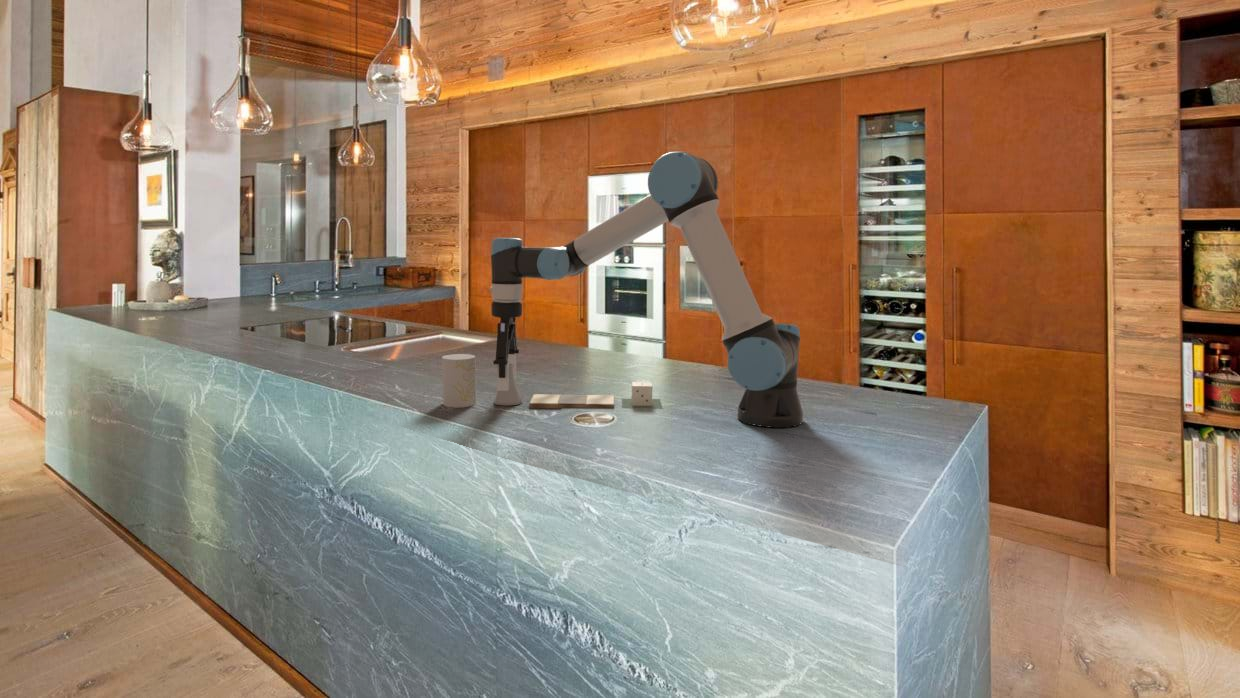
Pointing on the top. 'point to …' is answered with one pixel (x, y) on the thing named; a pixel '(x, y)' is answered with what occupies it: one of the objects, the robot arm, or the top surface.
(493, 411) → the top surface
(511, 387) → the flask
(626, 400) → the mat
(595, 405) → the board
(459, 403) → the white upright cylinder
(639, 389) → the die
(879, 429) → the top surface
